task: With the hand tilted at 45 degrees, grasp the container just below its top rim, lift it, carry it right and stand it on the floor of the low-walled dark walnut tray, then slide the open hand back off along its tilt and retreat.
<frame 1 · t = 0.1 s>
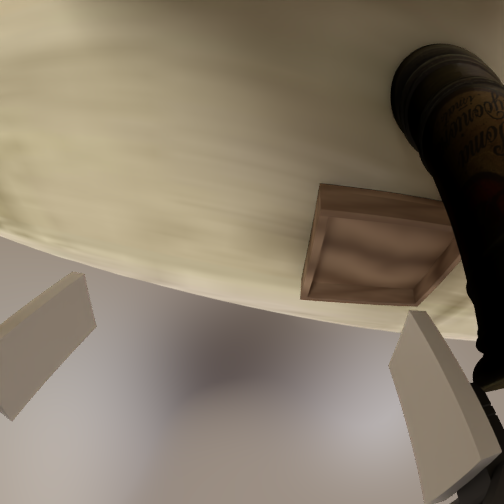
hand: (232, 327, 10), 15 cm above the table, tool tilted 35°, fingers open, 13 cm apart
walnut tray: (381, 248, 30), on the table
container: (444, 96, 14), on the table
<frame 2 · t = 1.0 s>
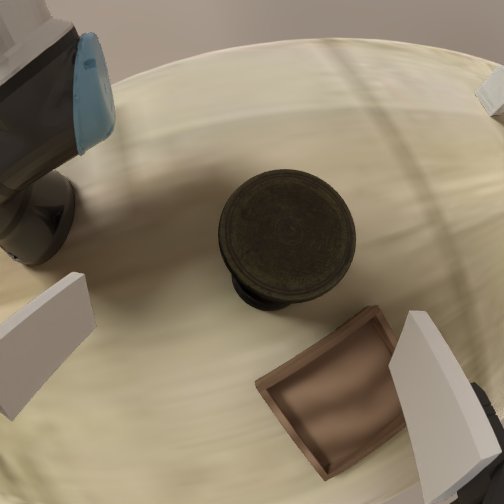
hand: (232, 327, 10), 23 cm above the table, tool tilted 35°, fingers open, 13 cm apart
supplement box: (487, 104, 44), on the table
walnut tray: (346, 395, 31), on the table
container: (269, 272, 34), on the table
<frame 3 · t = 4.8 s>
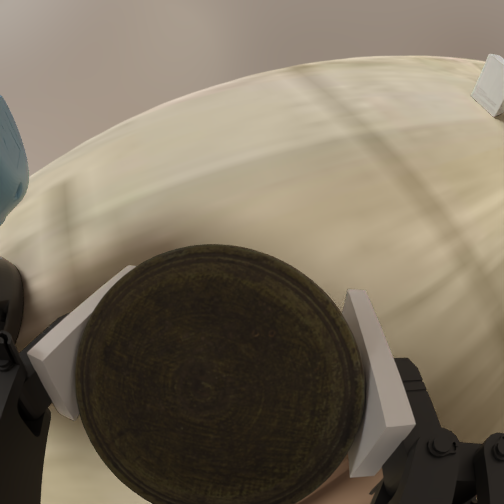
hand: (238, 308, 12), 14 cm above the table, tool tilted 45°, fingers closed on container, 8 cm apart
supplement box: (486, 105, 39), on the table
container: (250, 381, 23), on the table, touching gripper
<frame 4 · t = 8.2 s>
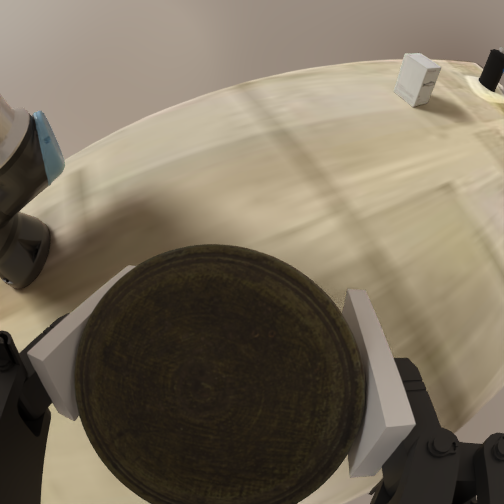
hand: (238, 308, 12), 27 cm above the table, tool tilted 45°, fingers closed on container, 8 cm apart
supplement box: (410, 98, 57), on the table
aerosol can: (486, 85, 65), on the table
container: (250, 381, 23), point 13 cm above the table, touching gripper
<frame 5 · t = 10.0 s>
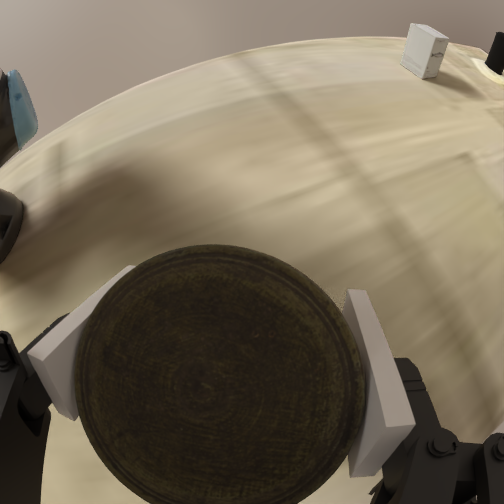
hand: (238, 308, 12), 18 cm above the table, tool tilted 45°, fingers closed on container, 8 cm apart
supplement box: (418, 71, 50), on the table
aerosol can: (493, 68, 57), on the table
container: (250, 381, 23), point 4 cm above the table, touching gripper
when the fingers open (15 cm above the table, at t = 11.7 s): container stays where it is, resting on walnut tray.
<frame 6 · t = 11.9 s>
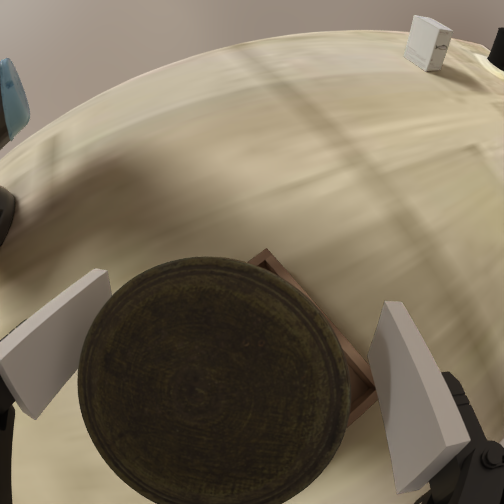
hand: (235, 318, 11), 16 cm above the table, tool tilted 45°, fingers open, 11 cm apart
supplement box: (422, 64, 47), on the table
aerosol can: (495, 64, 55), on the table
walnut tray: (251, 380, 24), on the table
container: (249, 381, 23), point 1 cm above the table, touching walnut tray
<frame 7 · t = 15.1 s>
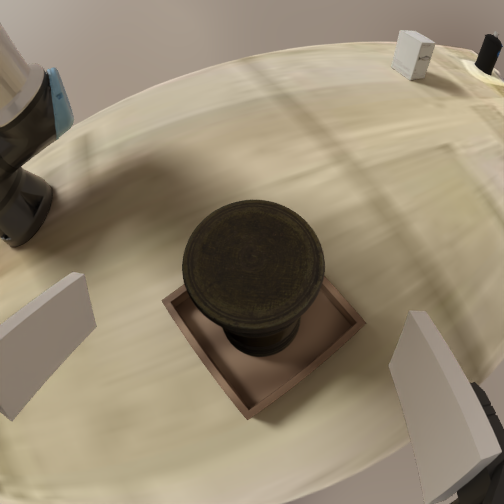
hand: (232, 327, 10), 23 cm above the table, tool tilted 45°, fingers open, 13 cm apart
supplement box: (407, 73, 57), on the table
aerosol can: (482, 69, 64), on the table
walnut tray: (262, 319, 33), on the table
container: (261, 319, 33), point 1 cm above the table, touching walnut tray
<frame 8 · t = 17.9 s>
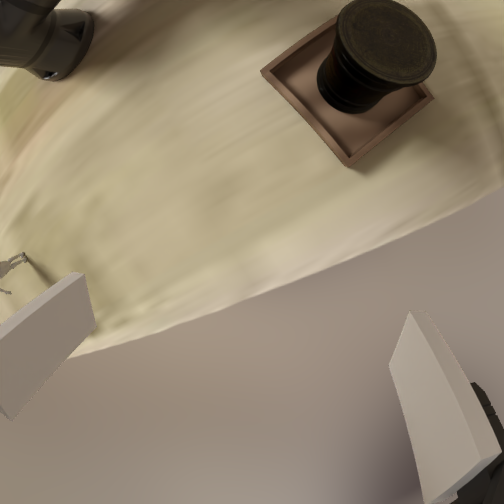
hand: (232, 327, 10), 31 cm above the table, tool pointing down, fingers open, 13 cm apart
human figurine: (25, 255, 51), on the table
walnut tray: (348, 84, 32), on the table
container: (348, 83, 31), point 1 cm above the table, touching walnut tray
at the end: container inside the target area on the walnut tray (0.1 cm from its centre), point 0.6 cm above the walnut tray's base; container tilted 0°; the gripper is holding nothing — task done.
